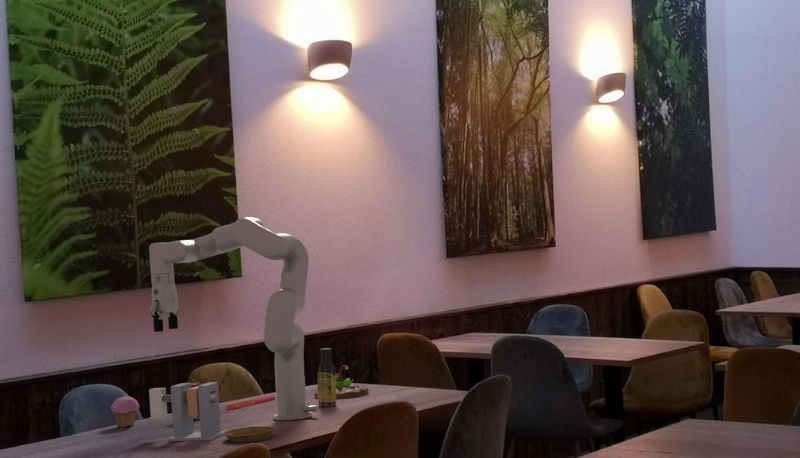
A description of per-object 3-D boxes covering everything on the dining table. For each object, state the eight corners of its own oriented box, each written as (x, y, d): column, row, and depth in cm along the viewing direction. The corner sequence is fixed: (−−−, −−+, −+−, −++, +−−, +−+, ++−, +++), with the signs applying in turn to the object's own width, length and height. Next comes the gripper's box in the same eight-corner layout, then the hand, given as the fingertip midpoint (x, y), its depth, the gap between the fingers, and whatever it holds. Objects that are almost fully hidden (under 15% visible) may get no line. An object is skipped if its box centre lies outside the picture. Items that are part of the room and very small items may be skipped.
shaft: (218, 416, 327) (216, 386, 327) (213, 418, 324) (211, 387, 324) (155, 417, 332) (153, 388, 333) (150, 419, 330) (149, 389, 330)
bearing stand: (225, 434, 330) (222, 381, 330) (211, 440, 320) (208, 386, 320) (184, 434, 334) (181, 382, 334) (168, 440, 324) (165, 387, 324)
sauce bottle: (315, 407, 373) (311, 349, 373) (323, 404, 379) (319, 347, 379) (332, 407, 371) (329, 349, 371) (340, 404, 376) (336, 347, 377)
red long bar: (223, 412, 382) (232, 409, 379) (221, 407, 382) (230, 403, 380) (269, 402, 401) (278, 398, 399) (267, 396, 402) (276, 393, 399)
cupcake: (131, 423, 363) (129, 393, 364) (145, 425, 357) (143, 395, 357) (107, 427, 357) (105, 397, 357) (121, 429, 351) (119, 399, 351)
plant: (367, 398, 390) (365, 367, 391) (313, 401, 391) (311, 370, 391) (369, 390, 410) (367, 361, 411) (318, 393, 411) (316, 364, 411)
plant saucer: (231, 446, 309) (231, 437, 309) (219, 439, 323) (218, 430, 323) (281, 439, 315) (281, 430, 315) (267, 433, 329) (266, 424, 329)
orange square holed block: (209, 411, 330) (208, 385, 330) (197, 415, 322) (195, 389, 323) (200, 411, 331) (199, 385, 331) (188, 416, 323) (186, 389, 323)
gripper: (159, 280, 354) (163, 332, 354) (185, 277, 371) (188, 327, 370) (139, 281, 356) (142, 333, 356) (165, 278, 373) (169, 328, 373)
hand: (166, 330), depth 363 cm, fingers open, 9 cm apart
